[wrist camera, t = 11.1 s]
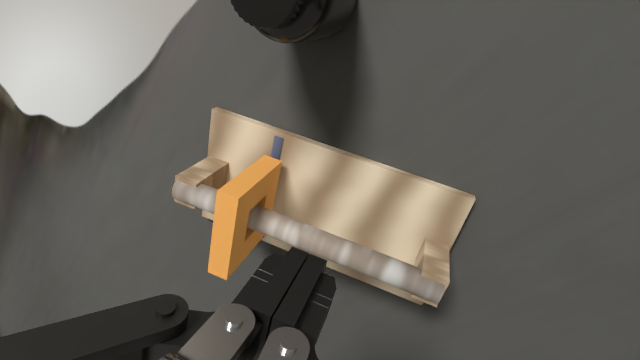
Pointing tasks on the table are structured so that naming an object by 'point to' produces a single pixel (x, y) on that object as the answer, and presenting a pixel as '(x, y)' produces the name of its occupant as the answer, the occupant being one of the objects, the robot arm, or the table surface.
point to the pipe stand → (337, 206)
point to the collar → (241, 214)
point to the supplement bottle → (295, 18)
